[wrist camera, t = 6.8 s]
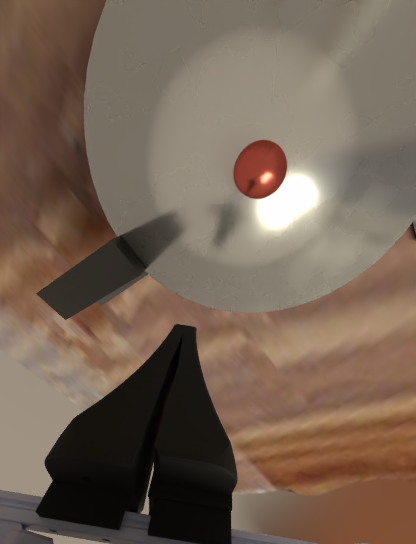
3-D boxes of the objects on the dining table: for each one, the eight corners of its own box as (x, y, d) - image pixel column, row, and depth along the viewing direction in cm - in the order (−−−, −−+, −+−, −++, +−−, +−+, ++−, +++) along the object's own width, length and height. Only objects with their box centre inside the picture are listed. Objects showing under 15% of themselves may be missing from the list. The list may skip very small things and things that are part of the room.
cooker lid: (393, -303, 6) (528, -684, 3) (452, 225, 11) (513, 237, 9) (-25, 188, 13) (-83, 189, 10) (145, 356, 19) (134, 382, 16)
